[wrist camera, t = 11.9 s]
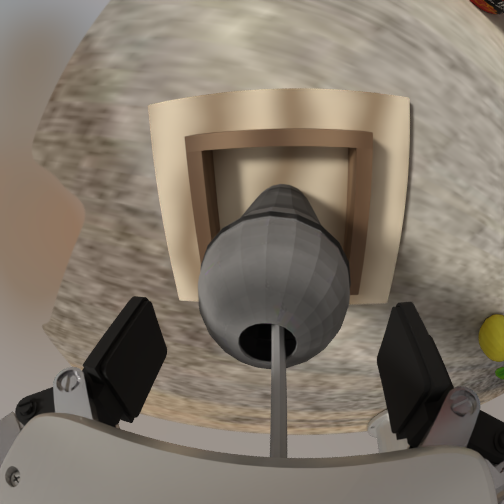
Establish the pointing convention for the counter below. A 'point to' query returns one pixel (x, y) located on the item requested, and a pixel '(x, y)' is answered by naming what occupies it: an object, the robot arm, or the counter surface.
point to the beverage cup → (274, 291)
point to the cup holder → (285, 172)
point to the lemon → (493, 340)
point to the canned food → (490, 5)
